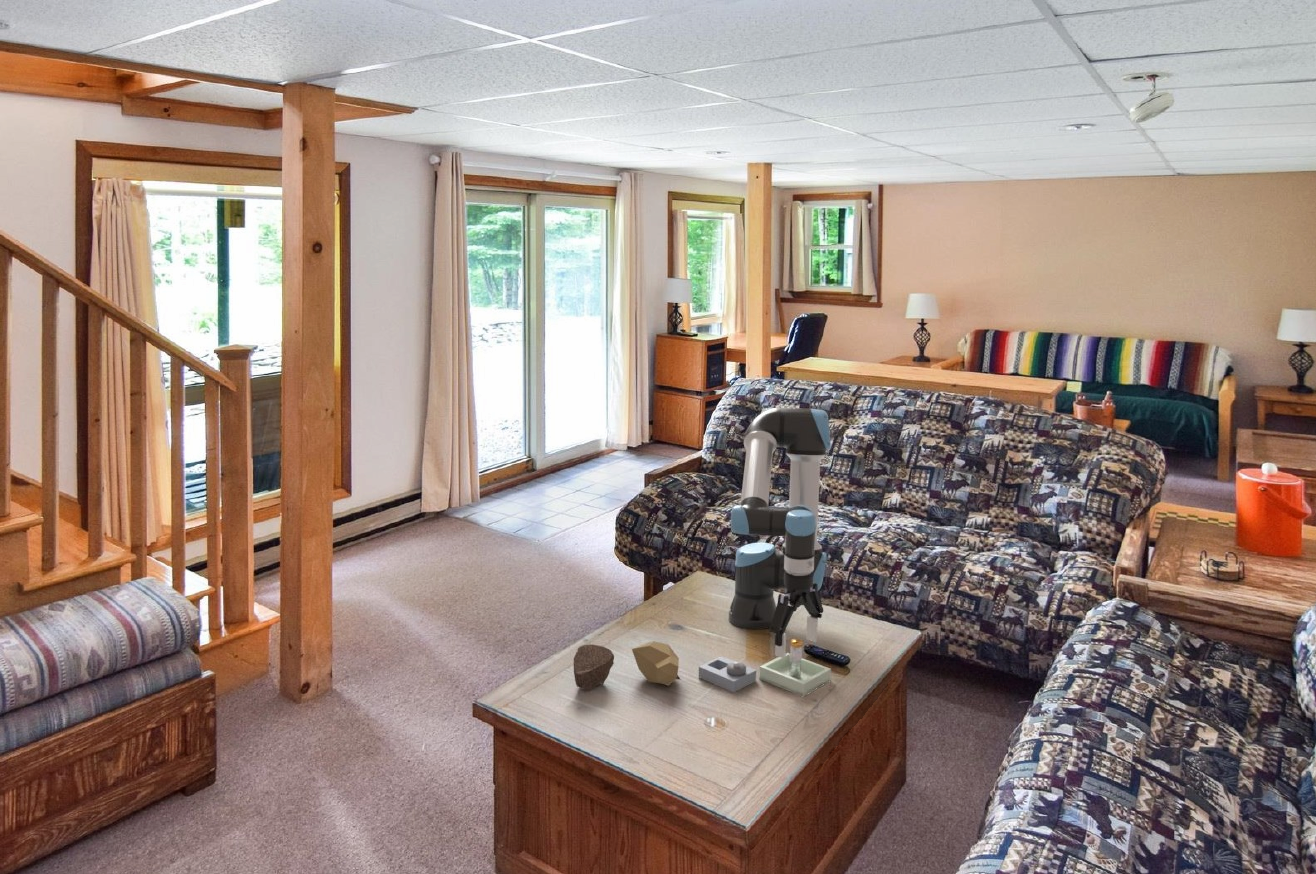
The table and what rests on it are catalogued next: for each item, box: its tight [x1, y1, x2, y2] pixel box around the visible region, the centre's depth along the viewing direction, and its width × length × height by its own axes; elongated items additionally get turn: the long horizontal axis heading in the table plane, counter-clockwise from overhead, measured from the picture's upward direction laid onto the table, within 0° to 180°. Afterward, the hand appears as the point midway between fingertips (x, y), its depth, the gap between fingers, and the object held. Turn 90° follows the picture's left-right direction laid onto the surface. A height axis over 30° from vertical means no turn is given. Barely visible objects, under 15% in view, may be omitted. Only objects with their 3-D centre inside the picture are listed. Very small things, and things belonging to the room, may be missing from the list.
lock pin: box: [789, 638, 803, 680], centre depth 244 cm, size 3×3×10 cm
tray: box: [759, 652, 832, 697], centre depth 245 cm, size 14×12×4 cm
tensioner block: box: [698, 655, 757, 693], centre depth 245 cm, size 12×9×6 cm
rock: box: [573, 644, 615, 692], centre depth 241 cm, size 12×10×10 cm
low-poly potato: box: [631, 641, 681, 686], centre depth 243 cm, size 15×11×12 cm
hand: (796, 648), depth 244 cm, fingers open, 13 cm apart
